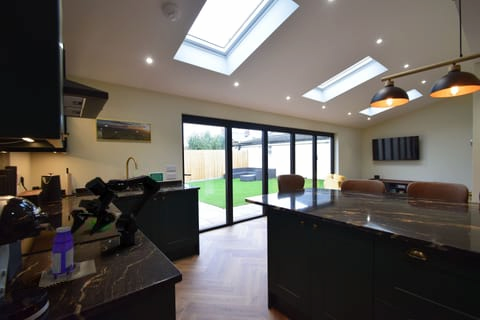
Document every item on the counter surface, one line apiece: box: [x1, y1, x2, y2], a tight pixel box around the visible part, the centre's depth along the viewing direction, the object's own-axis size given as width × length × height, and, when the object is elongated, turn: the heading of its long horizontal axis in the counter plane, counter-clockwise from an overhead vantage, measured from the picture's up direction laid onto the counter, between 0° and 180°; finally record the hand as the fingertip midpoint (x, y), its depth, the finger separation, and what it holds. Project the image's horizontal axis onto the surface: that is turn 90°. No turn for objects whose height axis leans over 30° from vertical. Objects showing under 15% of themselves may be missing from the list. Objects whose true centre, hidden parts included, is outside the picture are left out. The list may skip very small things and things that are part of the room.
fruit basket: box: [88, 218, 112, 232], centre depth 132 cm, size 11×9×11 cm
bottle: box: [51, 225, 75, 278], centre depth 78 cm, size 7×6×17 cm
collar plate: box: [38, 259, 97, 288], centre depth 80 cm, size 16×13×3 cm
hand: (80, 234), depth 84 cm, fingers open, 9 cm apart
